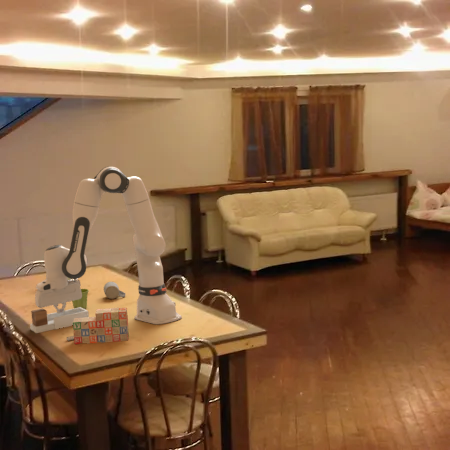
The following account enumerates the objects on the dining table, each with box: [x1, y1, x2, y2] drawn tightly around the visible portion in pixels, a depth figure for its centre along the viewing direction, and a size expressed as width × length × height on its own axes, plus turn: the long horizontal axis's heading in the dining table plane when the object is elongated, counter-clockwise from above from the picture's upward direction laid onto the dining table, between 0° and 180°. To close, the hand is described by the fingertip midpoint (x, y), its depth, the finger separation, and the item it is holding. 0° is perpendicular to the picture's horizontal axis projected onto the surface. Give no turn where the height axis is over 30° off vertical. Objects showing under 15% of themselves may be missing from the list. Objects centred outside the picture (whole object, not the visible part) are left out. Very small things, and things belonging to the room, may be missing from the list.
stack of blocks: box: [72, 307, 130, 345], centre depth 255 cm, size 21×6×12 cm, turn 96°
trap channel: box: [29, 307, 90, 334], centre depth 278 cm, size 9×24×5 cm, turn 126°
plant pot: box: [71, 288, 90, 309], centre depth 305 cm, size 9×9×9 cm
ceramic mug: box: [103, 281, 127, 300], centre depth 323 cm, size 11×8×8 cm
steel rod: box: [66, 335, 74, 342], centre depth 261 cm, size 14×2×2 cm, turn 126°
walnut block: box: [30, 307, 48, 327], centre depth 273 cm, size 5×5×6 cm
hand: (60, 313), depth 279 cm, fingers closed
